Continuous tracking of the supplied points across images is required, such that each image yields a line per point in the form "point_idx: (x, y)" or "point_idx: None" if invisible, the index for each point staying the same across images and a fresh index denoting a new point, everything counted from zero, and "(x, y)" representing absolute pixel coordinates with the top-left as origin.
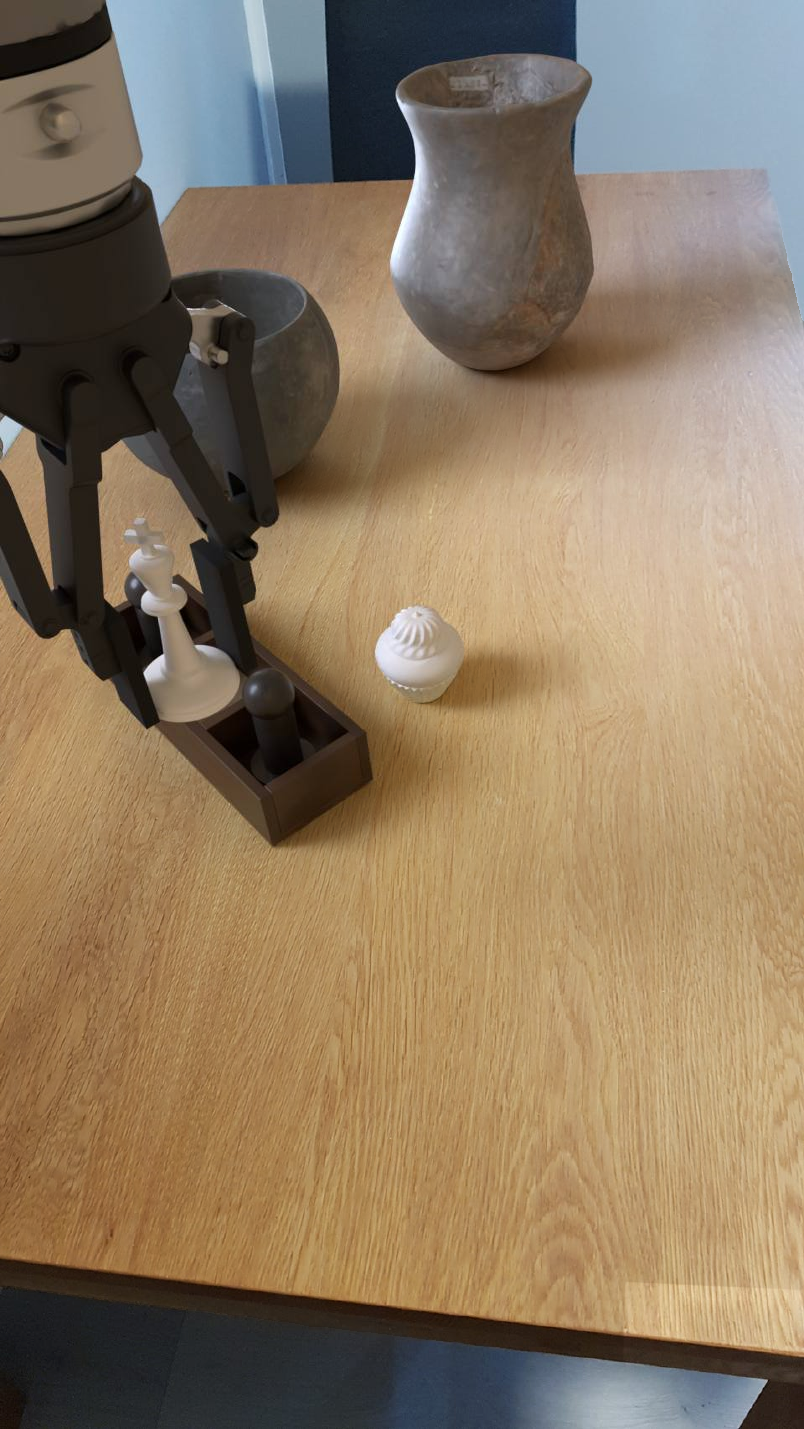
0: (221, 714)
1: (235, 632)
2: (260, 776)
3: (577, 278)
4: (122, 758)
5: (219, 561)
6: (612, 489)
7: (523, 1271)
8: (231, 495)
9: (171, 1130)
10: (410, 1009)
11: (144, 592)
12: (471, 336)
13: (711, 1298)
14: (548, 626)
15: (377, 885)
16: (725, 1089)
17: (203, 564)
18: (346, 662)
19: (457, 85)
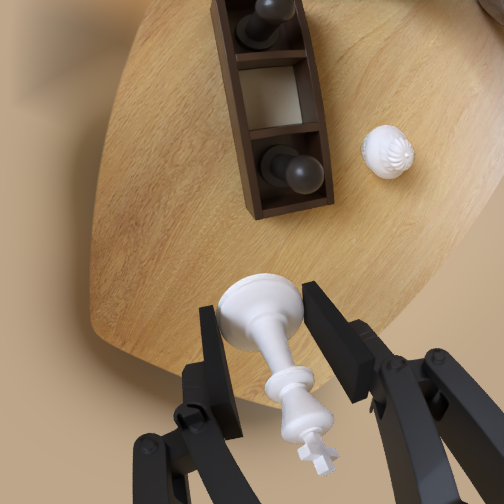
0: (266, 132)
1: (321, 351)
2: (263, 170)
3: None
4: (191, 89)
5: (360, 393)
6: (485, 104)
7: (243, 390)
8: (431, 375)
9: (150, 322)
10: None
11: (270, 16)
12: (494, 2)
13: (280, 403)
14: (431, 155)
15: (281, 257)
16: (324, 368)
17: (350, 372)
18: (349, 100)
19: None
